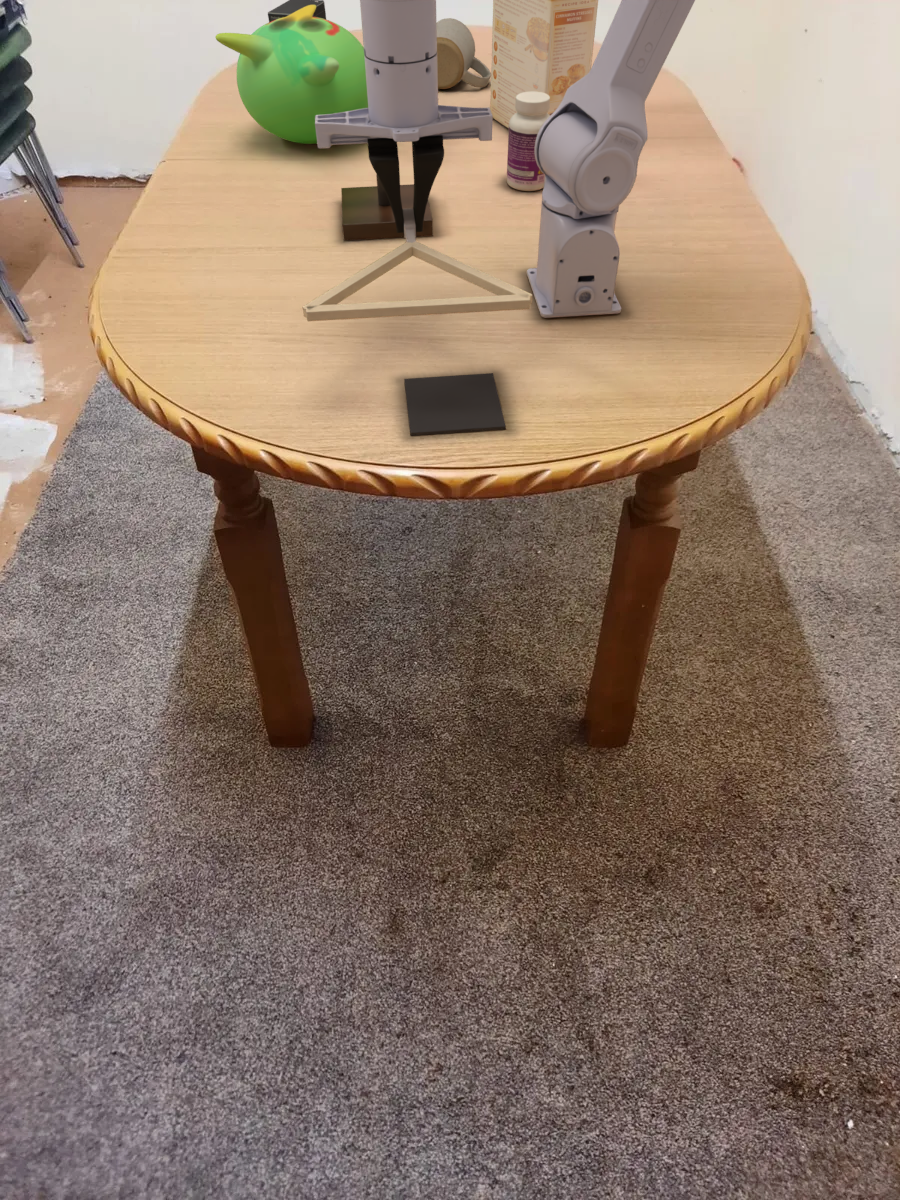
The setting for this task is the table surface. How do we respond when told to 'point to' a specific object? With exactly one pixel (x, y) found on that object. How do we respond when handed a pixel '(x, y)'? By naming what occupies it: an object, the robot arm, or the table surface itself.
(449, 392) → the mat
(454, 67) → the ceramic mug
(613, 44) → the robot arm
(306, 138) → the toy bird
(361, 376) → the table surface
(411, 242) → the hanger
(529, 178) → the pill bottle
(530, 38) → the coffeecake box
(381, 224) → the block
